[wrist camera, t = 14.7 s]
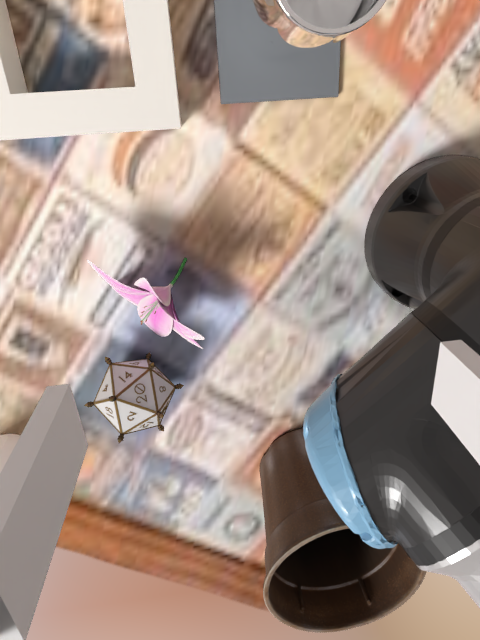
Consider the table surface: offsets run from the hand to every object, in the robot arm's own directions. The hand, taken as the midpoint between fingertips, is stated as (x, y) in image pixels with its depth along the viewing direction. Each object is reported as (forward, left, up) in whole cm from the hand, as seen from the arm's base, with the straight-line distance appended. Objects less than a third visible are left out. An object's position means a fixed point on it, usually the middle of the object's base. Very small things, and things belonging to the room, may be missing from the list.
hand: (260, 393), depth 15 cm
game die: (+10, +17, -29) cm, 35 cm away
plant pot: (-9, +33, -29) cm, 44 cm away
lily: (+7, +7, -29) cm, 30 cm away
